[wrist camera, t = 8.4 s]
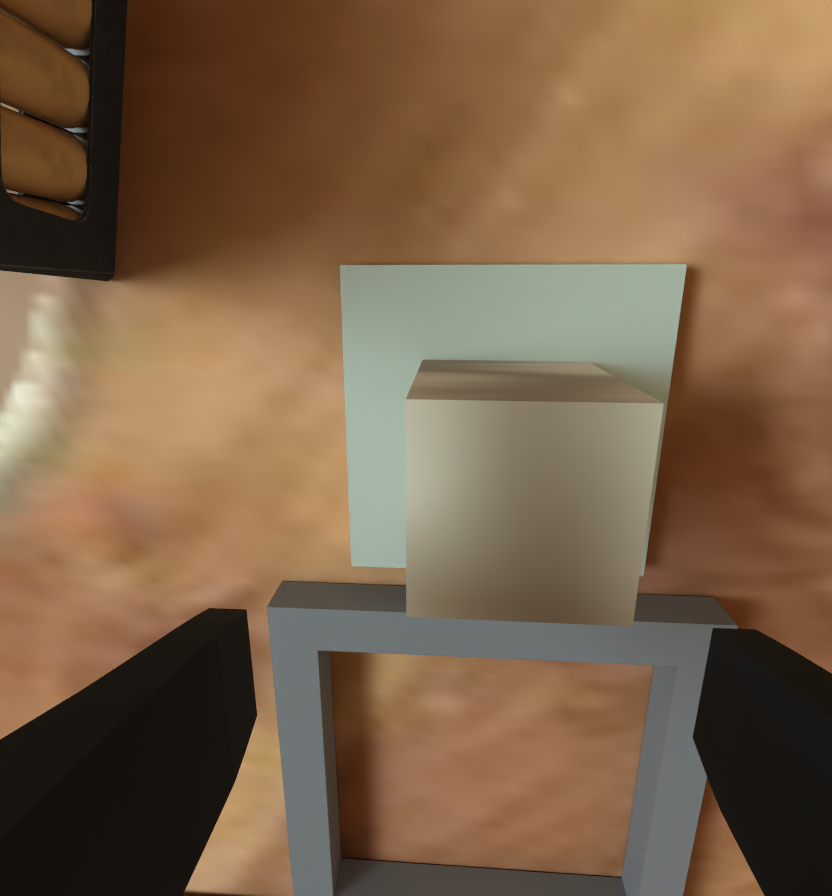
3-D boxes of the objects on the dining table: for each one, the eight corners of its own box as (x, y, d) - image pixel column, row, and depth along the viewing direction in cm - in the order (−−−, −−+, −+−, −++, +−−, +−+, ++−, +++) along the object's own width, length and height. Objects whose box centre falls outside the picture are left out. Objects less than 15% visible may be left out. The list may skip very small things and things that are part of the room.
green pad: (354, 557, 17) (351, 566, 17) (344, 265, 15) (339, 265, 14) (637, 566, 17) (643, 575, 16) (677, 264, 14) (686, 264, 14)
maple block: (421, 509, 16) (406, 617, 11) (422, 359, 15) (405, 399, 10) (572, 513, 16) (632, 626, 11) (587, 361, 14) (664, 403, 9)
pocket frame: (306, 882, 22) (296, 924, 20) (281, 581, 18) (267, 607, 16) (656, 908, 21) (671, 953, 20) (713, 596, 17) (737, 625, 15)
